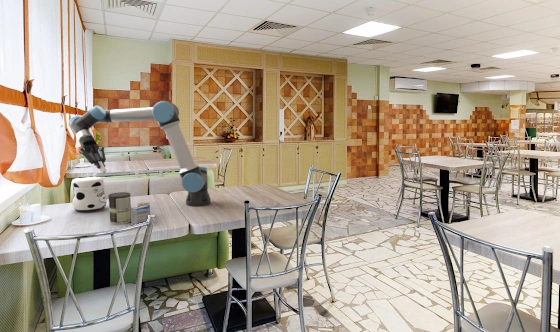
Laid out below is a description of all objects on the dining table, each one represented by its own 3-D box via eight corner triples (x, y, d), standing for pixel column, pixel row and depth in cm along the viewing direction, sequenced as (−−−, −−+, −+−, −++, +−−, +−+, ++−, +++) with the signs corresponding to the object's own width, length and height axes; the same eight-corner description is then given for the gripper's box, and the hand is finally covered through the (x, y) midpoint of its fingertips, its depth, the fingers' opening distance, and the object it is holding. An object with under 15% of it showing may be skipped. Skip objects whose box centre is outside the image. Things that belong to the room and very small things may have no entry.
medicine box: (136, 226, 168) (136, 209, 167) (131, 225, 170) (130, 207, 169) (150, 222, 175) (149, 205, 174) (145, 221, 177) (144, 204, 176)
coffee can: (106, 224, 171) (104, 196, 170) (114, 218, 182) (112, 192, 180) (127, 223, 172) (126, 196, 171) (134, 218, 183) (133, 192, 181)
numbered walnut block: (150, 215, 189) (149, 202, 188) (150, 217, 184) (149, 204, 183) (138, 216, 187) (137, 203, 186) (138, 218, 181) (137, 205, 180)
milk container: (111, 209, 201) (109, 179, 199) (79, 215, 189) (76, 182, 187) (100, 204, 213) (98, 175, 211) (69, 209, 200) (66, 179, 198)
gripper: (96, 143, 196) (113, 175, 189) (71, 145, 185) (89, 178, 178) (100, 134, 192) (118, 166, 185) (75, 135, 182) (94, 169, 174)
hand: (104, 172), depth 181 cm, fingers closed
